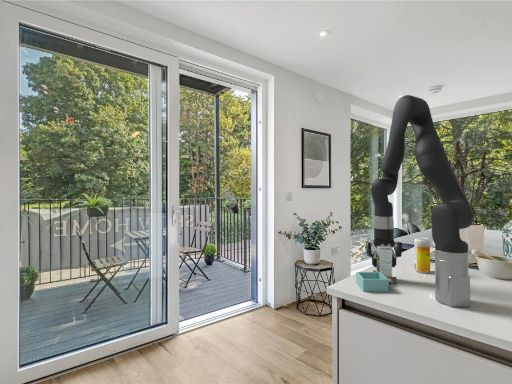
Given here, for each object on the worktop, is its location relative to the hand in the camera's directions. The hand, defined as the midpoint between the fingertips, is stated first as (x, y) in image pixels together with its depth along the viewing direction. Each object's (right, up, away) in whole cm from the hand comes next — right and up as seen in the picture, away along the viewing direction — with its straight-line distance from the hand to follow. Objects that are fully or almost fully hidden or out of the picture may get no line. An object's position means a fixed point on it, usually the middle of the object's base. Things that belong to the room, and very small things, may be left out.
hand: (384, 266), depth 120 cm
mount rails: (0, -5, -1) cm, 6 cm away
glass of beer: (+21, -5, +10) cm, 24 cm away
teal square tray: (-8, -6, -8) cm, 13 cm away
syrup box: (0, -6, 0) cm, 6 cm away
